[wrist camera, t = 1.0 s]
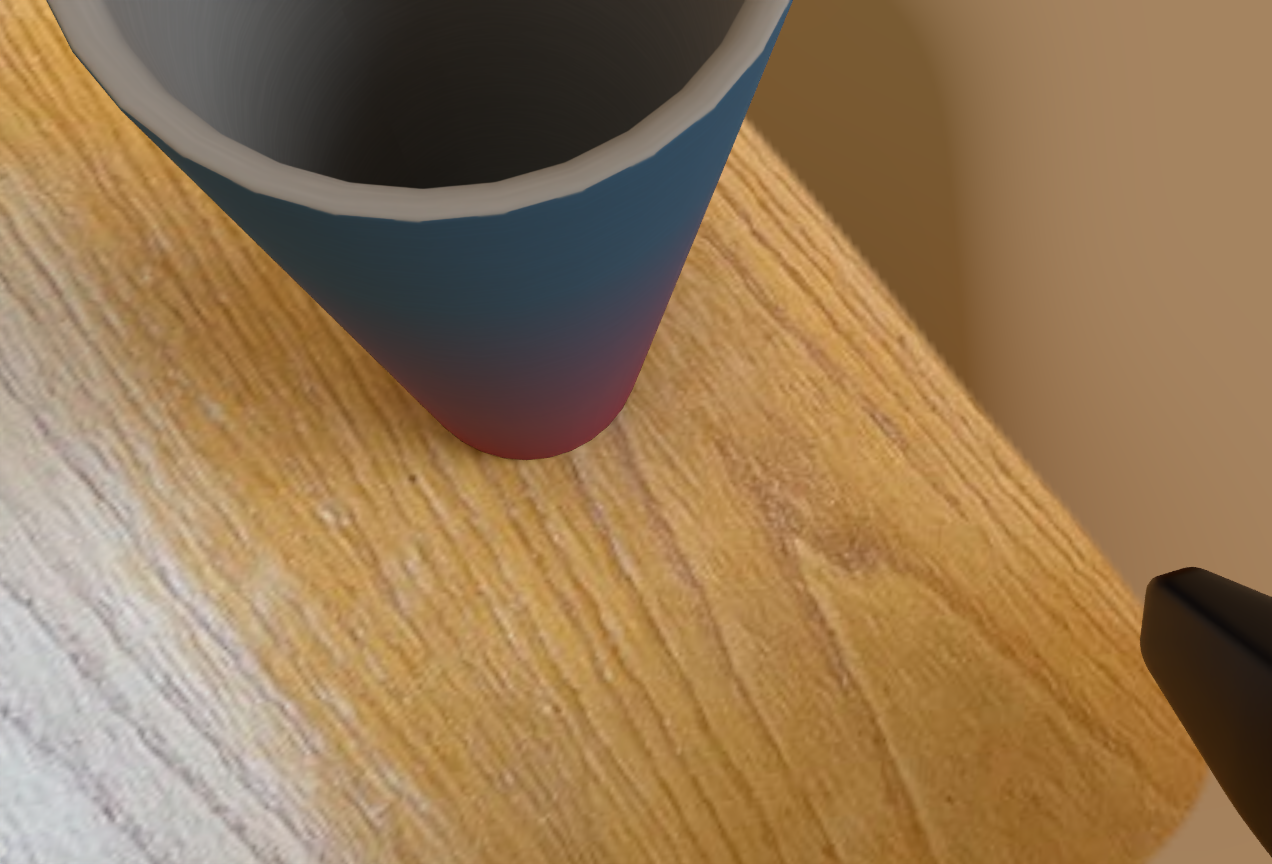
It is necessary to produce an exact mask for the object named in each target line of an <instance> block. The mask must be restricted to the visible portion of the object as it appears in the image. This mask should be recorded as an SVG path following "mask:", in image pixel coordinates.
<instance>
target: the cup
mask: <svg viewBox="0 0 1272 864" xmlns="http://www.w3.org/2000/svg"><path fill="white" fill-rule="evenodd" d="M792 1H793V0H47V2H48V4H49V6H50V8H51V10H52V12H53V14H54V16H55V18H56V20H57V22H58V24H59V26H60V28H61V30H62V32H63V34H64V36H65V38H66V40H67V42H68V44H69V46H70V48H71V50H72V52H73V53H74V54H75V55H76V57H77V58H78V59H79V60H80V62H81V63H82V64H83V65H84V66H85V68H86V69H87V70H88V71H89V72H90V74H91V75H92V76H93V77H94V78H95V80H96V81H97V82H98V83H99V84H100V86H101V87H102V88H103V89H104V90H105V92H106V93H107V94H108V95H109V96H110V98H111V99H112V100H113V101H114V102H115V104H116V105H117V106H118V107H119V108H120V110H121V111H122V112H123V113H124V114H125V115H126V116H127V117H128V118H129V119H130V120H131V121H133V122H134V123H135V124H136V125H137V126H138V127H139V128H140V129H141V130H142V131H143V132H144V133H145V134H146V135H147V136H148V137H149V138H150V139H151V140H152V141H153V142H154V143H155V144H156V145H157V146H158V147H159V148H160V149H161V150H162V151H163V152H164V153H165V154H166V155H167V156H168V157H169V158H170V159H171V160H172V161H173V162H174V163H175V164H176V165H177V166H178V167H179V168H180V169H181V170H183V171H184V172H185V173H186V174H187V175H188V176H189V177H190V178H191V179H192V180H193V181H194V182H195V183H196V184H197V185H198V186H199V187H200V188H201V189H202V190H203V191H204V192H205V193H206V194H207V195H208V196H209V197H210V198H211V199H212V200H213V201H214V202H215V203H216V204H217V205H218V206H219V207H220V208H221V209H222V210H223V211H224V212H225V213H226V214H227V215H228V216H229V217H230V218H232V219H233V220H234V221H235V222H236V223H237V224H238V225H239V226H240V227H241V228H242V229H243V230H244V231H245V232H246V233H247V234H248V235H249V236H250V237H251V238H252V239H253V240H254V241H255V242H256V243H257V244H258V245H259V246H260V247H261V248H262V249H263V250H264V251H265V252H266V253H267V254H268V255H269V256H270V257H271V258H272V259H273V260H274V261H275V262H276V263H277V264H278V265H279V266H280V267H282V268H283V269H284V270H285V271H286V272H287V273H288V274H289V275H290V276H291V277H292V278H293V279H294V280H295V281H296V282H297V283H298V284H299V285H300V286H301V287H302V288H303V289H304V290H305V291H306V292H307V293H308V294H309V295H310V296H311V297H312V298H313V299H314V300H315V301H316V302H317V303H318V304H319V305H320V306H321V307H322V308H323V309H324V310H325V311H326V312H327V313H328V314H329V315H330V316H332V317H333V318H334V319H335V320H336V321H337V322H338V323H339V324H340V325H341V326H342V327H343V328H344V329H345V330H346V331H347V332H348V333H349V334H350V335H351V336H352V337H353V338H354V339H355V340H356V341H357V342H358V343H359V344H360V345H361V346H362V347H363V348H364V349H365V350H366V351H367V352H368V353H369V354H370V355H371V356H372V357H373V358H374V359H375V360H376V361H377V362H378V363H379V364H380V365H382V366H383V367H384V368H385V369H386V370H387V371H388V372H389V373H390V374H391V375H392V376H393V377H394V378H395V379H396V380H397V381H398V382H399V383H400V384H401V385H402V386H403V387H404V388H405V389H406V390H407V391H408V392H409V393H410V394H411V395H412V396H413V397H414V398H415V399H416V400H417V401H418V402H419V403H420V404H421V405H422V406H423V407H424V408H425V409H426V410H427V411H428V412H429V413H431V414H432V415H433V416H434V417H435V418H436V419H437V420H438V421H439V422H440V423H441V424H442V425H443V426H444V427H445V428H446V429H447V430H448V431H450V432H451V433H452V434H454V435H455V436H456V437H457V438H459V439H460V440H461V441H462V442H464V443H466V444H468V445H470V446H472V447H474V448H476V449H478V450H480V451H482V452H485V453H488V454H492V455H495V456H499V457H502V458H510V459H522V460H531V459H540V458H549V457H553V456H556V455H559V454H562V453H565V452H569V451H572V450H573V449H575V448H577V447H579V446H581V445H583V444H585V443H586V442H588V441H590V440H592V439H593V438H594V437H595V436H597V435H598V434H599V433H600V432H601V431H603V430H604V429H605V428H606V427H607V426H609V424H610V423H611V422H612V421H613V419H614V418H615V417H616V416H617V414H618V413H619V412H620V411H621V410H622V408H623V406H624V404H625V402H626V401H627V399H628V397H629V395H630V393H631V391H632V389H633V387H634V384H635V382H636V379H637V377H638V374H639V372H640V370H641V367H642V365H643V362H644V360H645V358H646V355H647V353H648V350H649V348H650V345H651V343H652V341H653V338H654V336H655V333H656V331H657V328H658V326H659V324H660V321H661V319H662V316H663V314H664V311H665V309H666V307H667V304H668V302H669V299H670V297H671V294H672V292H673V290H674V287H675V285H676V282H677V280H678V277H679V275H680V273H681V270H682V268H683V265H684V263H685V261H686V258H687V256H688V253H689V251H690V248H691V246H692V244H693V241H694V239H695V236H696V234H697V231H698V229H699V227H700V224H701V222H702V219H703V217H704V214H705V212H706V210H707V207H708V205H709V202H710V200H711V197H712V195H713V193H714V190H715V188H716V185H717V183H718V180H719V178H720V176H721V173H722V171H723V168H724V166H725V164H726V161H727V159H728V156H729V154H730V151H731V149H732V147H733V144H734V142H735V139H736V137H737V134H738V132H739V130H740V127H741V125H742V122H743V120H744V117H745V115H746V113H747V110H748V108H749V105H750V103H751V100H752V98H753V96H754V93H755V91H756V88H757V86H758V83H759V81H760V79H761V76H762V74H763V71H764V69H765V67H766V64H767V62H768V59H769V56H770V54H771V52H772V50H773V47H774V45H775V42H776V40H777V37H778V35H779V33H780V30H781V28H782V25H783V23H784V20H785V18H786V15H787V13H788V11H789V8H790V6H791V3H792Z"/></svg>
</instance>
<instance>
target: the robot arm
mask: <svg viewBox="0 0 1272 864" xmlns="http://www.w3.org/2000/svg"><path fill="white" fill-rule="evenodd" d="M1140 647H1141V653H1142V656H1143V659H1144V661H1145V664H1146V666H1147V668H1148V670H1149V671H1150V673H1151V675H1152V676H1153V678H1154V679H1155V681H1156V683H1157V684H1158V686H1159V687H1160V689H1161V691H1162V692H1163V694H1164V696H1165V697H1166V699H1167V700H1168V702H1169V704H1170V705H1171V707H1172V708H1173V710H1174V712H1175V713H1176V715H1177V716H1178V718H1179V720H1180V721H1181V723H1182V725H1183V726H1184V728H1185V729H1186V731H1187V733H1188V734H1189V736H1190V737H1191V739H1192V741H1193V742H1194V744H1195V746H1196V747H1197V749H1198V750H1199V752H1200V754H1201V755H1202V757H1203V758H1204V760H1205V762H1206V763H1207V765H1208V766H1209V768H1210V770H1211V771H1212V773H1213V775H1214V776H1215V778H1216V779H1217V781H1218V782H1219V784H1220V786H1221V787H1222V789H1223V790H1224V792H1225V794H1226V795H1227V797H1228V798H1229V800H1230V801H1231V802H1232V804H1233V806H1234V807H1235V808H1236V810H1237V812H1238V813H1239V815H1240V816H1241V817H1242V819H1243V820H1244V821H1245V823H1246V824H1247V825H1248V827H1249V828H1250V830H1251V831H1252V832H1253V834H1254V835H1255V836H1256V837H1257V839H1258V840H1259V842H1260V843H1261V844H1262V845H1263V847H1264V848H1265V849H1266V851H1267V852H1268V853H1269V854H1270V856H1271V857H1272V597H1270V596H1268V595H1265V594H1263V593H1260V592H1258V591H1256V590H1253V589H1251V588H1248V587H1246V586H1243V585H1241V584H1238V583H1236V582H1234V581H1231V580H1229V579H1226V578H1224V577H1222V576H1219V575H1217V574H1214V573H1212V572H1209V571H1207V570H1204V569H1201V568H1196V567H1187V568H1183V569H1180V570H1176V571H1173V572H1169V573H1166V574H1163V575H1160V576H1157V577H1155V578H1153V579H1152V580H1151V581H1150V583H1149V584H1148V585H1147V589H1146V595H1145V603H1144V611H1143V620H1142V628H1141V636H1140Z"/></svg>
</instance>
